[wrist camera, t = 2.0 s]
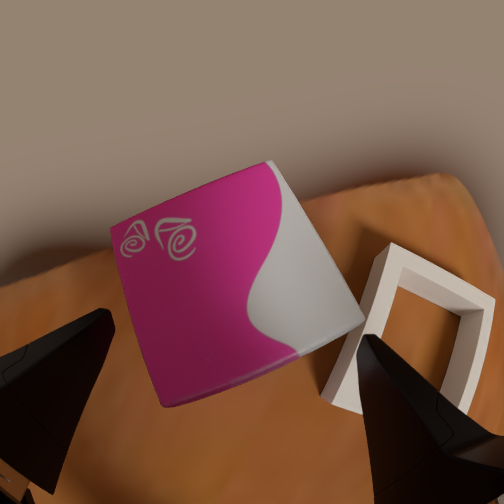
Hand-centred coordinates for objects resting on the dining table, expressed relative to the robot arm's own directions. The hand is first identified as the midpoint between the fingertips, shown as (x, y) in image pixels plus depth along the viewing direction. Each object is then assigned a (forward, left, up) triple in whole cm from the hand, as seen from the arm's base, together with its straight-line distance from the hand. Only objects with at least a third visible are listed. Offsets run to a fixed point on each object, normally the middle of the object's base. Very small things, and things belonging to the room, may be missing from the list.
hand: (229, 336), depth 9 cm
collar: (-8, -9, -9) cm, 15 cm away
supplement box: (+1, -1, -9) cm, 9 cm away
